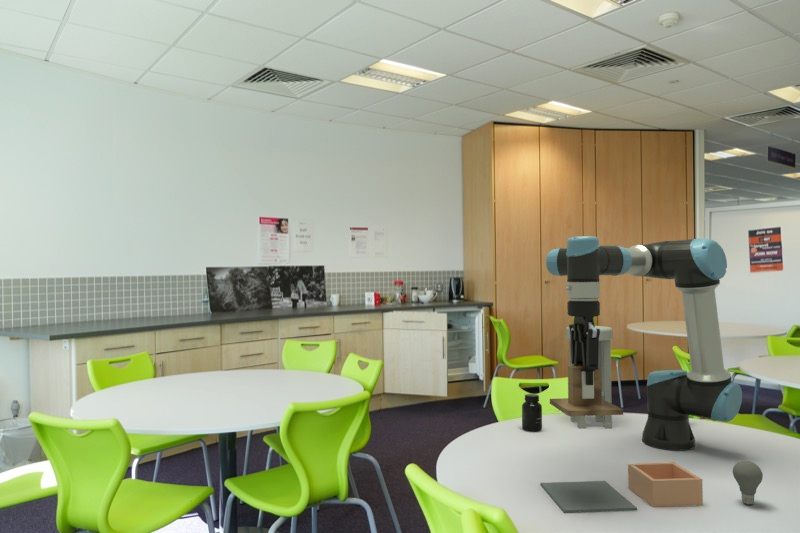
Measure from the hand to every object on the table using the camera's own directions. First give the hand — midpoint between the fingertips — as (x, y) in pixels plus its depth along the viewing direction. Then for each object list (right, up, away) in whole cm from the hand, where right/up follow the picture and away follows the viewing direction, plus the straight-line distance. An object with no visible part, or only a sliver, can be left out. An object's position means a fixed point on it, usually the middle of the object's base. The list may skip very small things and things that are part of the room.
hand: (584, 396), depth 137 cm
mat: (0, -24, 0) cm, 24 cm away
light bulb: (+37, -24, -5) cm, 44 cm away
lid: (0, -3, 0) cm, 3 cm away
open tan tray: (+19, -24, 0) cm, 31 cm away
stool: (+24, -26, +66) cm, 75 cm away
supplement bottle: (+1, -26, +60) cm, 65 cm away
